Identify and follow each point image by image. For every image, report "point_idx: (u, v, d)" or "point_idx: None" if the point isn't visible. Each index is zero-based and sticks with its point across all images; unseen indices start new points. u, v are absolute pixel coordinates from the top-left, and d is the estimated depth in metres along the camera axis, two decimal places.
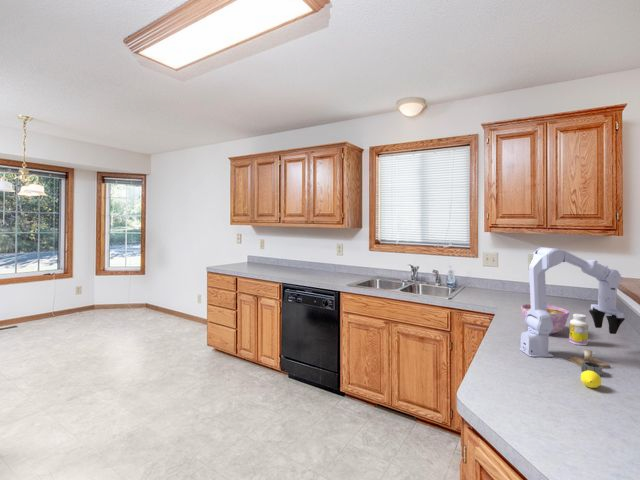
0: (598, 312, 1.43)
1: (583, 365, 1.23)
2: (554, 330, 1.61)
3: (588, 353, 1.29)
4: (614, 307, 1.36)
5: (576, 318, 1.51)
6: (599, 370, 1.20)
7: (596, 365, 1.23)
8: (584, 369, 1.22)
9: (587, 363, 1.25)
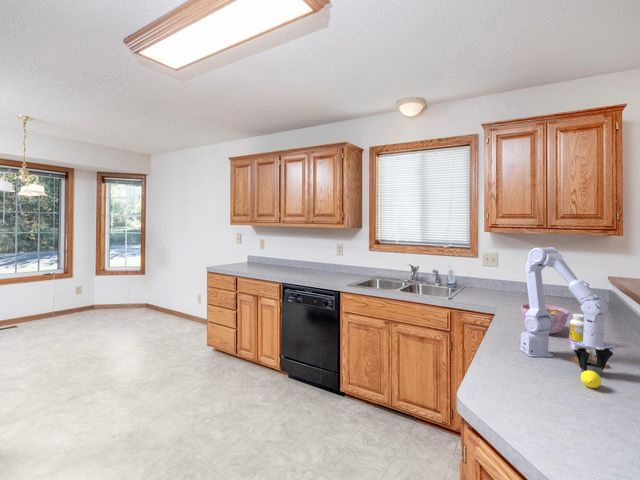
0: (600, 350, 1.23)
1: None
2: (554, 330, 1.61)
3: None
4: (588, 341, 1.21)
5: (576, 318, 1.51)
6: (599, 370, 1.20)
7: (596, 365, 1.23)
8: None
9: (587, 363, 1.25)
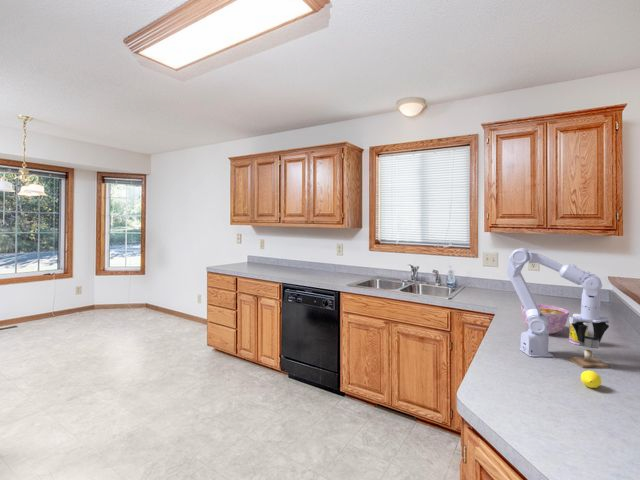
0: (596, 324, 1.30)
1: None
2: (554, 330, 1.61)
3: (588, 353, 1.29)
4: (585, 315, 1.29)
5: None
6: (596, 342, 1.27)
7: (593, 338, 1.30)
8: (582, 342, 1.30)
9: (585, 337, 1.32)
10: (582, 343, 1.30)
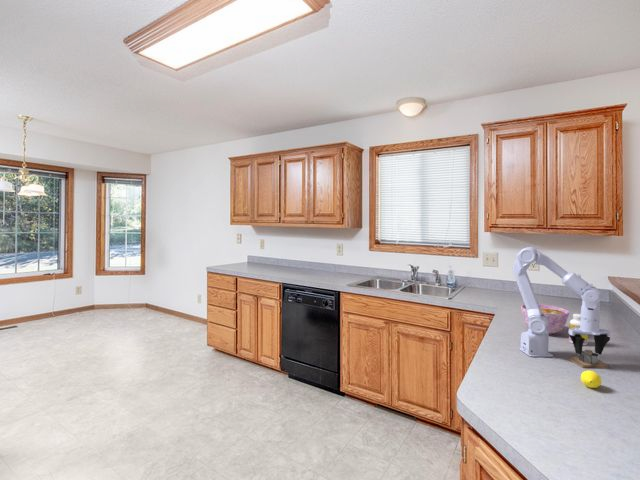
0: (598, 336, 1.30)
1: None
2: (554, 330, 1.61)
3: (588, 353, 1.29)
4: (584, 328, 1.29)
5: (576, 318, 1.51)
6: (595, 358, 1.27)
7: (593, 354, 1.31)
8: (582, 357, 1.30)
9: None
10: (581, 359, 1.30)
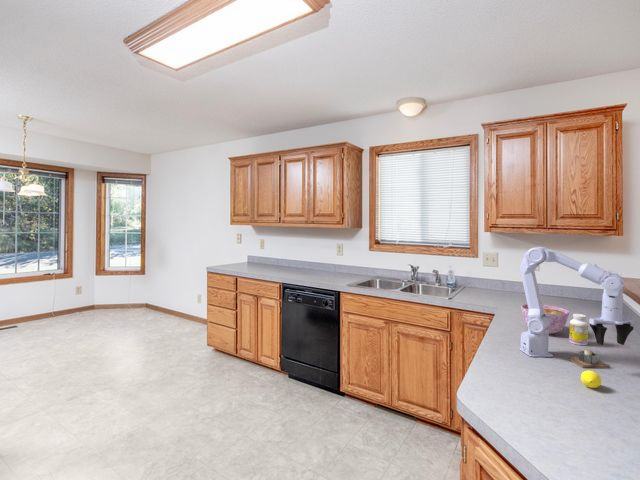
0: (620, 326, 1.24)
1: (580, 354, 1.31)
2: (554, 330, 1.61)
3: (588, 353, 1.29)
4: (606, 316, 1.23)
5: (576, 318, 1.51)
6: (595, 358, 1.27)
7: (593, 354, 1.31)
8: (582, 357, 1.30)
9: None
10: (581, 359, 1.30)
